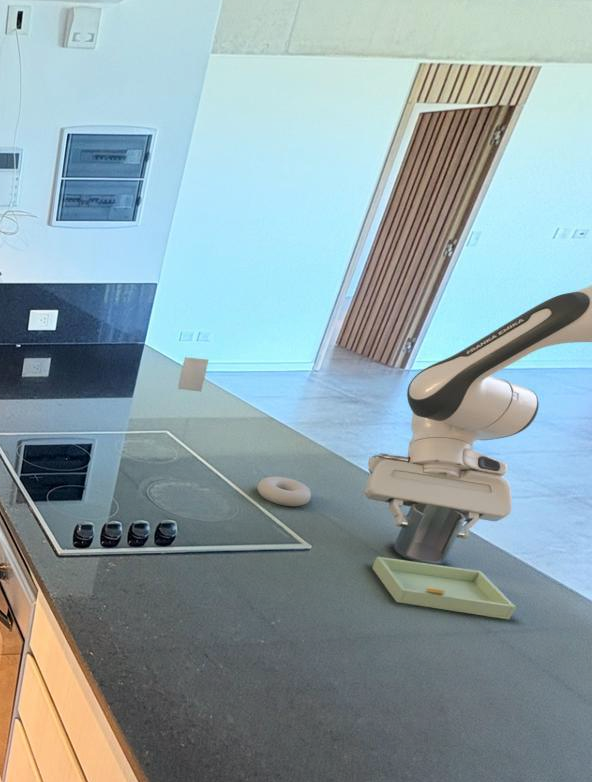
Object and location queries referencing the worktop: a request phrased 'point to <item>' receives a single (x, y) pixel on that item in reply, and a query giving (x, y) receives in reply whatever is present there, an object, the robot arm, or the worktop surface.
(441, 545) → the steel cup
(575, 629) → the worktop surface
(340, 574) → the worktop surface
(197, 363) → the pinkish tan block
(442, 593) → the key
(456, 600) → the tray
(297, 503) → the donut
